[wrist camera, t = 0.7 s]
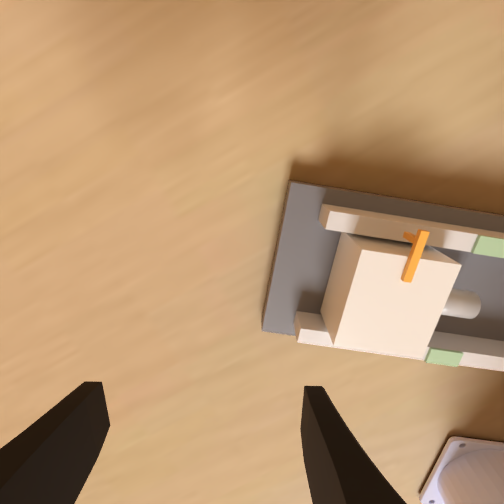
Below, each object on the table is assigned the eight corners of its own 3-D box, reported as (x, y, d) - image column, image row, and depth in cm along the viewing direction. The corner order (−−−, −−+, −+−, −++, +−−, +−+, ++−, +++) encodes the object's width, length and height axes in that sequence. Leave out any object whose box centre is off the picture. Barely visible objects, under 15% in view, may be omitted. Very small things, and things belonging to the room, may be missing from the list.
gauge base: (630, 235, 19) (758, 267, 14) (553, 363, 23) (635, 424, 18) (289, 179, 18) (301, 193, 13) (261, 321, 22) (263, 373, 17)
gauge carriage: (477, 227, 18) (535, 248, 14) (435, 328, 20) (474, 369, 16) (348, 206, 18) (372, 223, 14) (320, 311, 20) (334, 349, 16)
